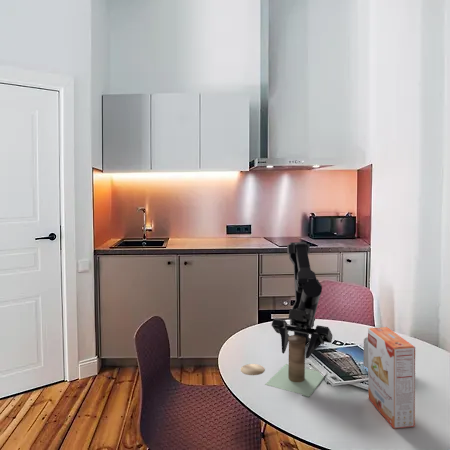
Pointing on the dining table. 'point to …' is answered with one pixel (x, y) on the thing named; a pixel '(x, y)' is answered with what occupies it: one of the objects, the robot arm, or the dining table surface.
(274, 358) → the dining table surface
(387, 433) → the dining table surface
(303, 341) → the canister
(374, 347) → the cracker box
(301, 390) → the mat
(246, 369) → the coaster
